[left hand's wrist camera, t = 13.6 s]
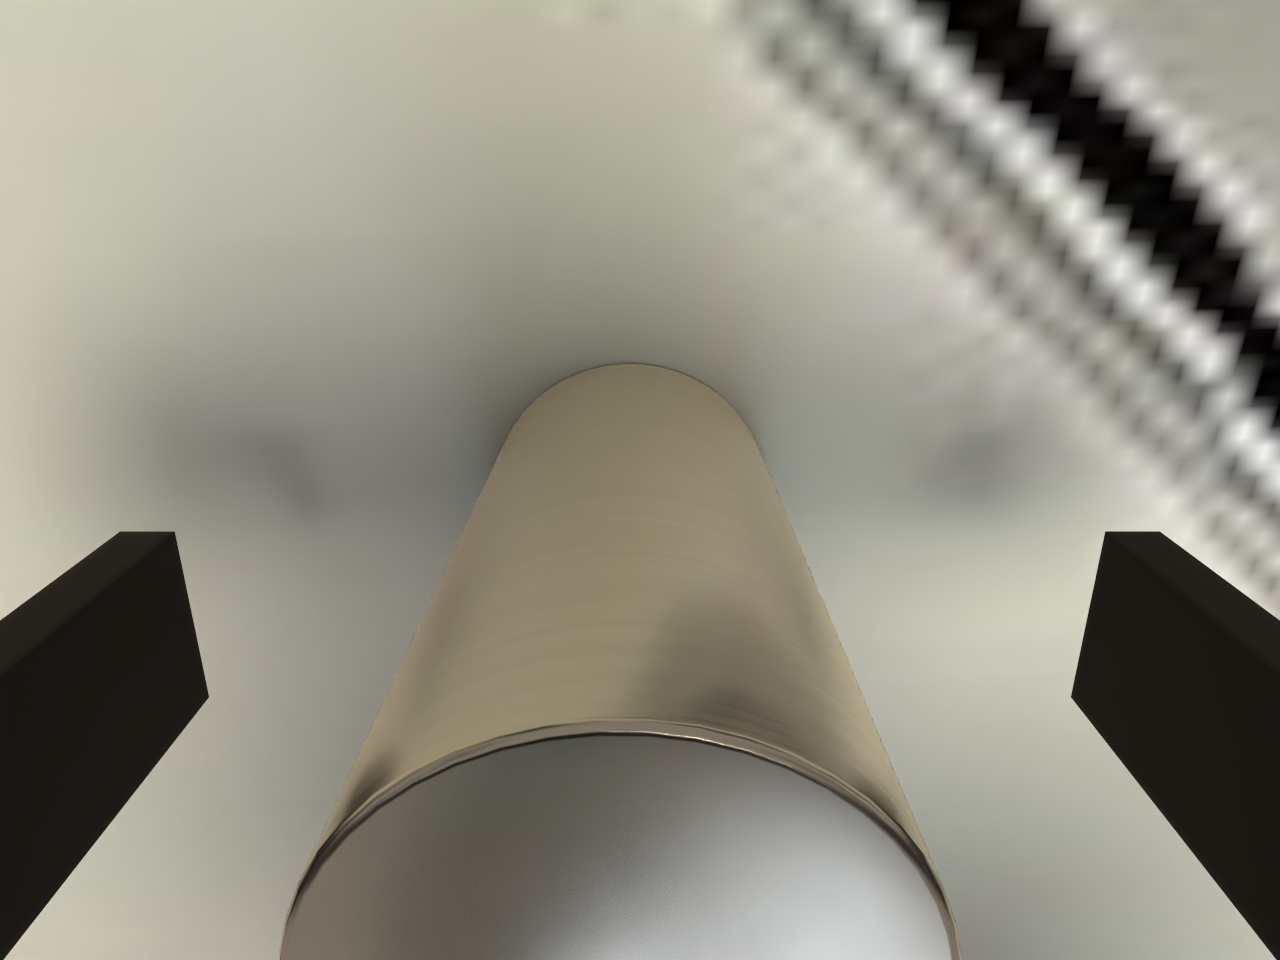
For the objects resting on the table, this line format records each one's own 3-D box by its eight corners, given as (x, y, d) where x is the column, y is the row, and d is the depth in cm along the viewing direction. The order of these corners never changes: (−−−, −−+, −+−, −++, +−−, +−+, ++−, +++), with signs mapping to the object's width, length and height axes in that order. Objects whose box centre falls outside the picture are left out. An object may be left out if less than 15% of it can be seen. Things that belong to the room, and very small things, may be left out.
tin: (795, 573, 18) (1018, 1158, 8) (549, 644, 19) (434, 1281, 8) (723, 325, 17) (881, 632, 6) (453, 411, 17) (146, 838, 6)
